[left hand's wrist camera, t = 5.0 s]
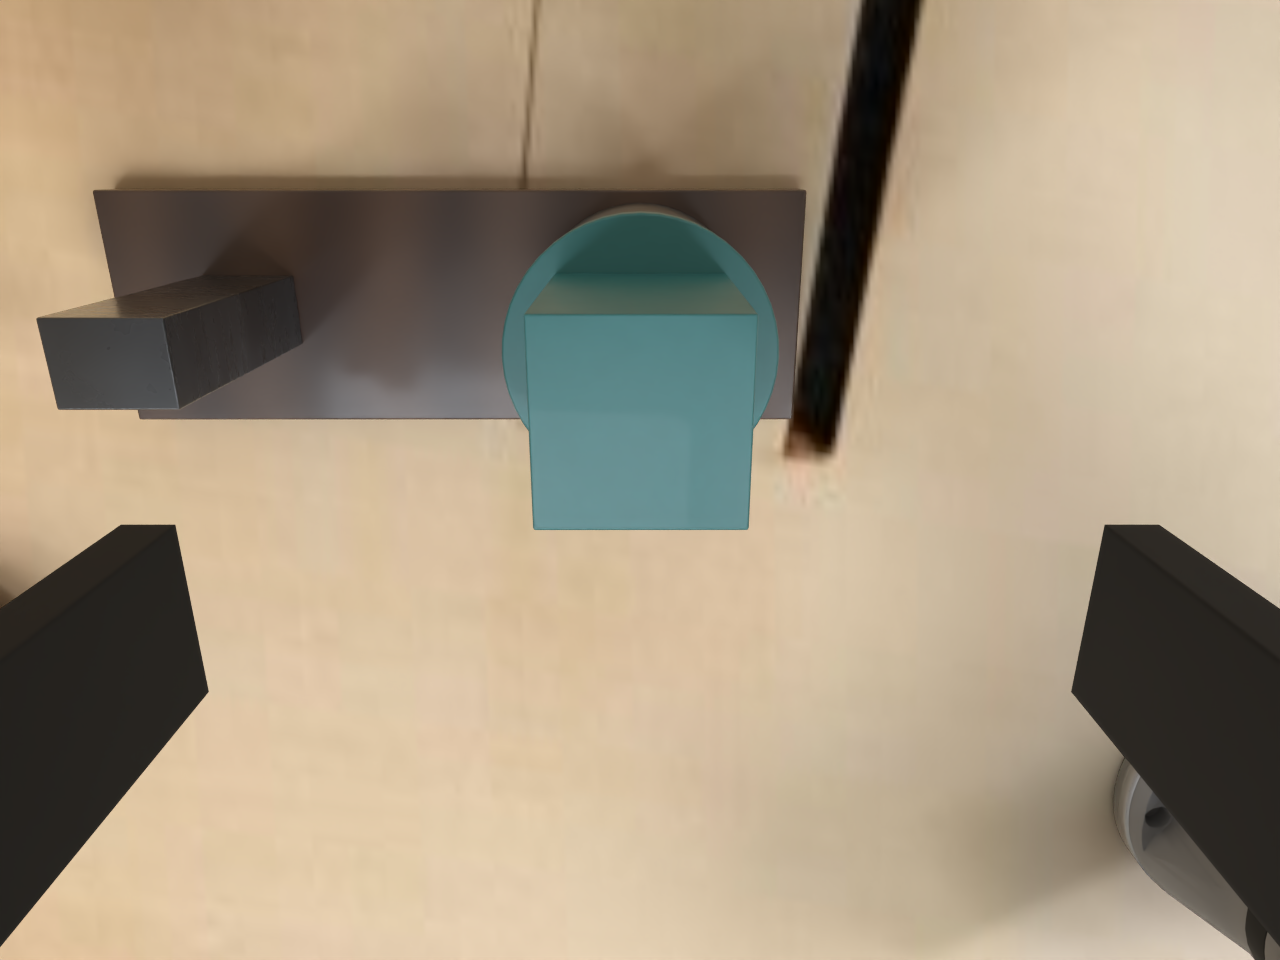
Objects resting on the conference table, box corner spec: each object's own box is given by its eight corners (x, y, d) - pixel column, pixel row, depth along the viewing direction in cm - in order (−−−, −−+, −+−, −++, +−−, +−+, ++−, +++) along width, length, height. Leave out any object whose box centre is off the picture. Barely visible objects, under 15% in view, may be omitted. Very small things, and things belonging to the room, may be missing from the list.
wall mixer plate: (800, 188, 38) (873, 200, 26) (787, 410, 41) (846, 509, 29) (112, 189, 38) (-127, 200, 26) (156, 411, 41) (-37, 510, 29)
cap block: (782, 210, 28) (845, 231, 20) (767, 478, 31) (816, 595, 23) (498, 211, 28) (437, 231, 20) (512, 478, 31) (465, 595, 23)
